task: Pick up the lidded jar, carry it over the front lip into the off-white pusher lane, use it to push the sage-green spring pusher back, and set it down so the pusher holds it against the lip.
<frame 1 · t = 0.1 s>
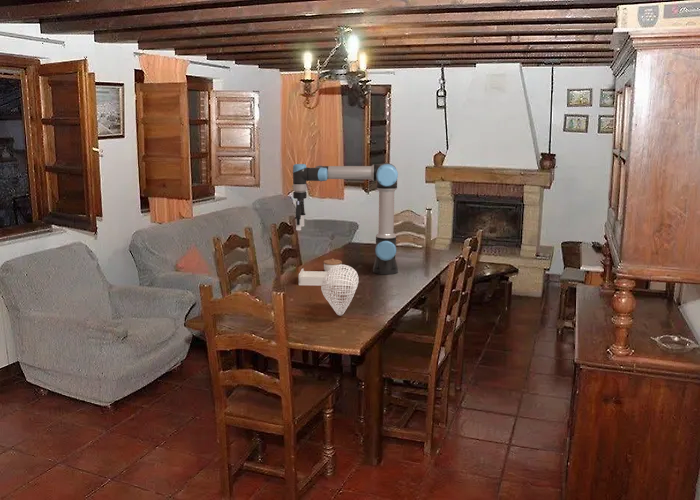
hand: (300, 228, 373), 28 cm above the table, tool pointing down, fingers open, 13 cm apart
pusher lane: (328, 282, 363), on the table
heart: (340, 315, 302), on the table
pusher: (346, 275, 362), point 4 cm above the table, slide at 0.0 cm
lidded jar: (332, 274, 383), on the table
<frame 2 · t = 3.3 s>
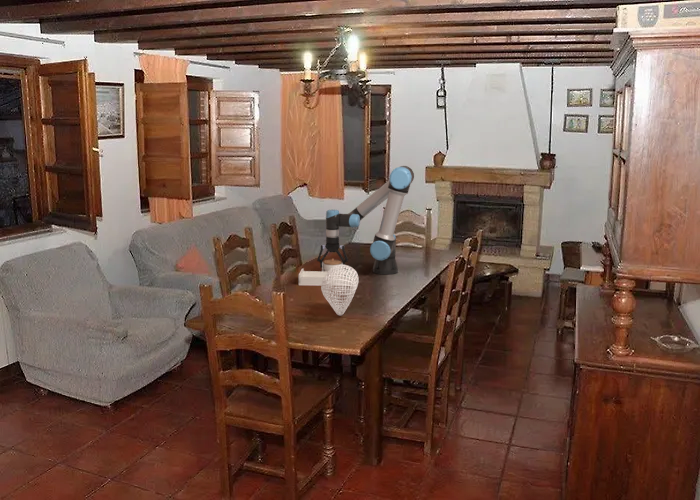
hand: (332, 273, 383), 0 cm above the table, tool pointing down, fingers closed on lidded jar, 11 cm apart
lidded jar: (332, 274, 383), on the table, touching gripper
everything else where it was.
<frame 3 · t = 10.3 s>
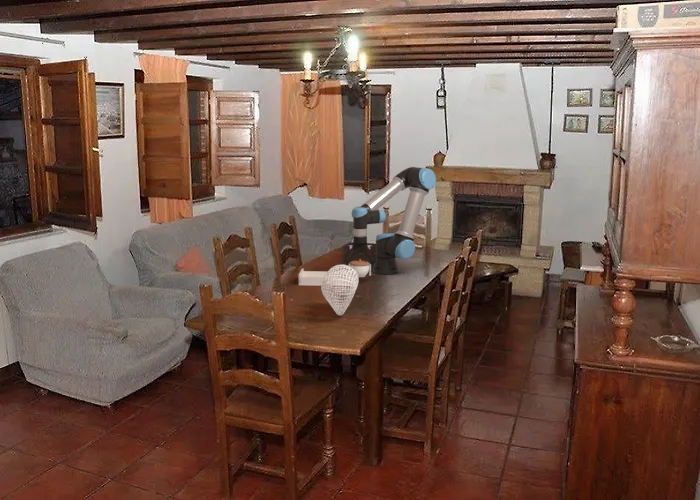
hand: (359, 275, 361), 4 cm above the table, tool pointing down, fingers closed on lidded jar, 11 cm apart
pusher: (345, 275, 362), point 4 cm above the table, slide at 0.8 cm, touching gripper
lidded jar: (359, 276, 361), point 4 cm above the table, touching gripper
everything else where it was.
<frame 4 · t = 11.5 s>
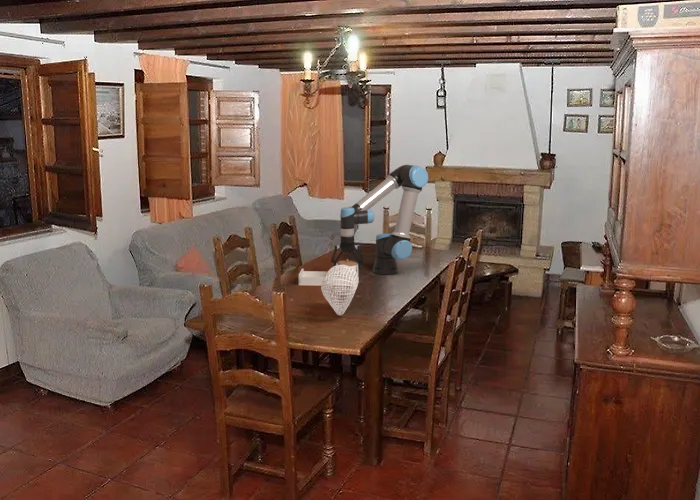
hand: (347, 274, 362), 4 cm above the table, tool pointing down, fingers closed on lidded jar, 11 cm apart
pusher: (332, 275, 362), point 4 cm above the table, slide at 7.8 cm, touching gripper
lidded jar: (347, 276, 362), point 4 cm above the table, touching gripper
everything else where it was.
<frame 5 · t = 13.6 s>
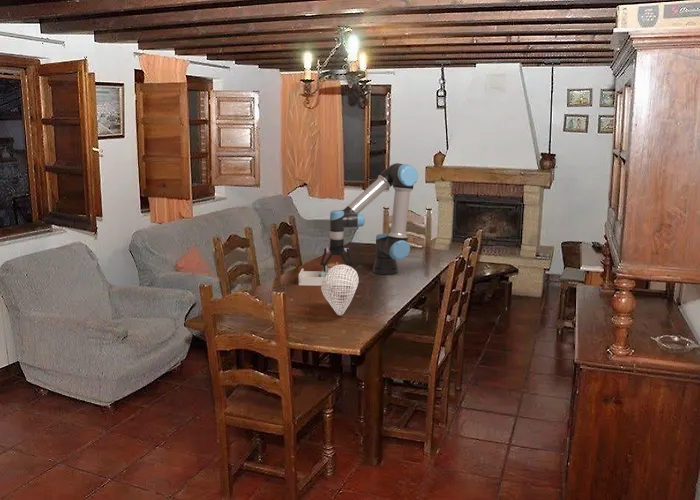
hand: (336, 277, 362), 3 cm above the table, tool pointing down, fingers closed on lidded jar, 11 cm apart
pusher: (322, 275, 363), point 4 cm above the table, slide at 13.8 cm, touching gripper
lidded jar: (336, 278, 362), point 2 cm above the table, touching gripper
everything else where it was.
when the fingers open (3 cm above the table, at t = 14.1 s): lidded jar drops 1 cm, resting on pusher lane.
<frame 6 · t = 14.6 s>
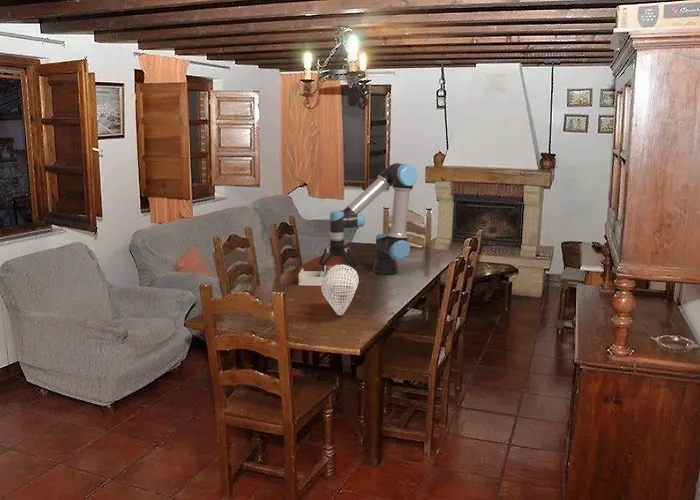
hand: (337, 277, 362), 3 cm above the table, tool pointing down, fingers open, 13 cm apart
pusher: (320, 275, 363), point 4 cm above the table, slide at 14.5 cm, touching gripper
lidded jar: (336, 281, 363), point 1 cm above the table, touching pusher lane
everything else where it was.
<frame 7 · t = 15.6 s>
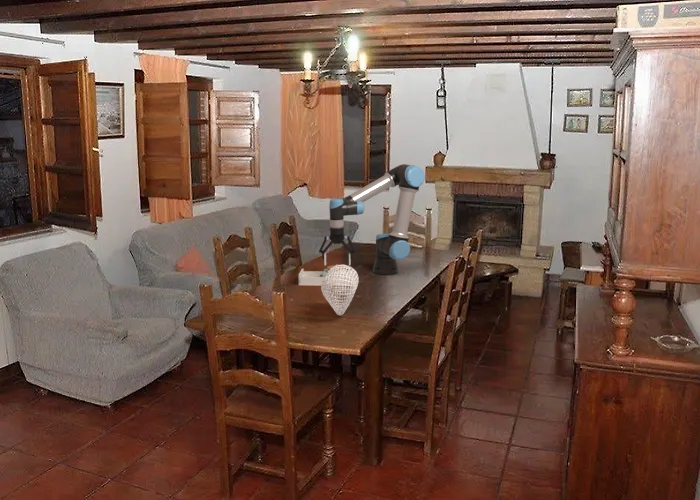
hand: (337, 264, 361), 10 cm above the table, tool pointing down, fingers open, 13 cm apart
pusher: (323, 275, 363), point 4 cm above the table, slide at 13.0 cm, touching lidded jar
lidded jar: (336, 281, 363), point 1 cm above the table, touching pusher, pusher lane
everything else where it was.
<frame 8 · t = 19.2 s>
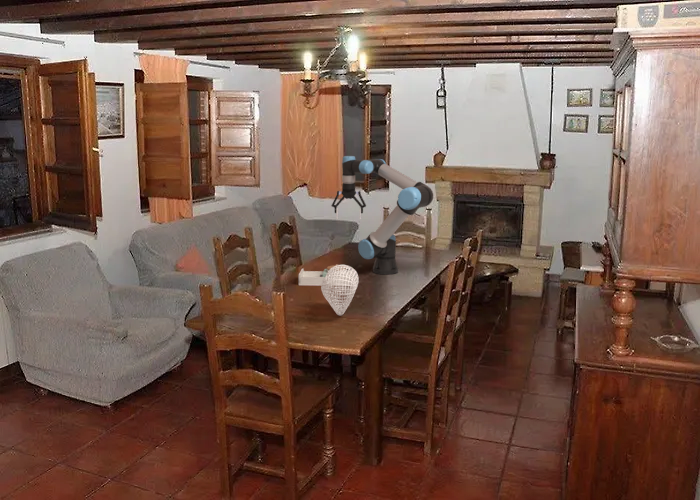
hand: (348, 218, 384), 32 cm above the table, tool pointing down, fingers open, 13 cm apart
nothing on the table moved.
at the end: lidded jar inside the target area on the pusher lane (1.2 cm from its centre), point 0.8 cm above the pusher lane's base; pusher slide at 13.0 cm; lidded jar tilted 0° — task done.
